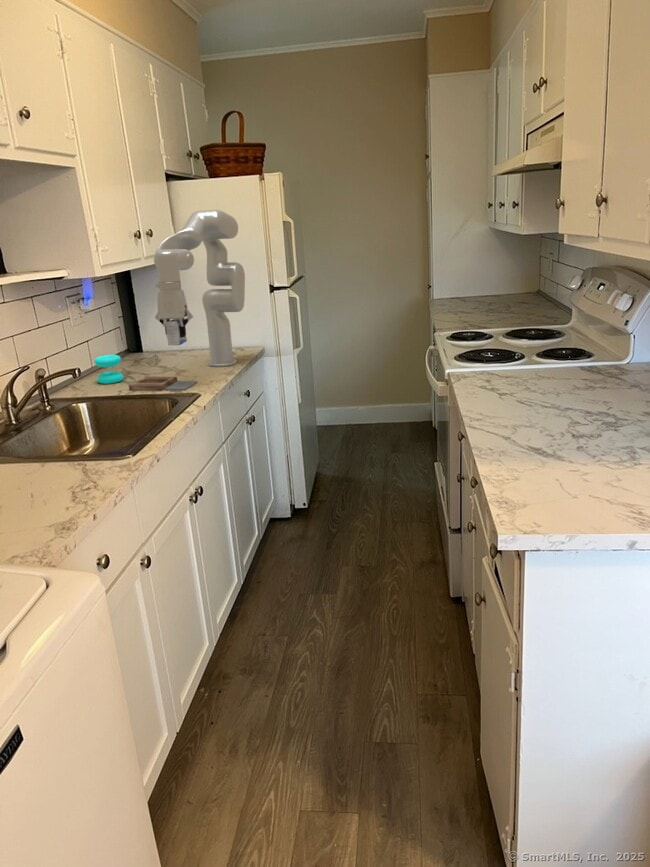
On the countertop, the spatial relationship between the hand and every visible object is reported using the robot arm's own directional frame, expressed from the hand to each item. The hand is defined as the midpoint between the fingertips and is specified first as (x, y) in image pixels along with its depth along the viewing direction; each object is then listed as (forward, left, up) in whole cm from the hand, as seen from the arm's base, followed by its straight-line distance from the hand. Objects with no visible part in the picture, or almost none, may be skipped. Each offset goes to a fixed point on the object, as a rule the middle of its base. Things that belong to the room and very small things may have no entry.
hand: (176, 336), depth 239 cm
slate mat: (0, 0, -19) cm, 19 cm away
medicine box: (-1, 0, -3) cm, 3 cm away
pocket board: (0, -12, -19) cm, 22 cm away
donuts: (-6, -33, -19) cm, 39 cm away
